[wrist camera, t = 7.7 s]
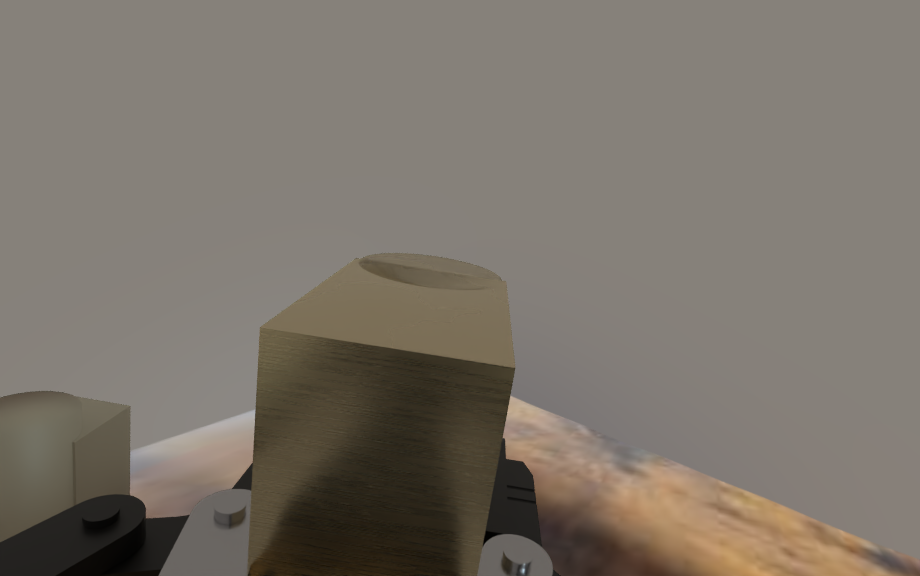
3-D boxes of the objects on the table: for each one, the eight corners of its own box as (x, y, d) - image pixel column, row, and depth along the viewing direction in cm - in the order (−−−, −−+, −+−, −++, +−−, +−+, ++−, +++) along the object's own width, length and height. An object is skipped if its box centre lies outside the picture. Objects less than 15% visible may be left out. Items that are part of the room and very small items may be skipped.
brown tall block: (412, 924, 9) (515, 367, 7) (230, 890, 10) (260, 327, 7) (445, 616, 16) (504, 267, 13) (336, 597, 16) (372, 246, 13)
